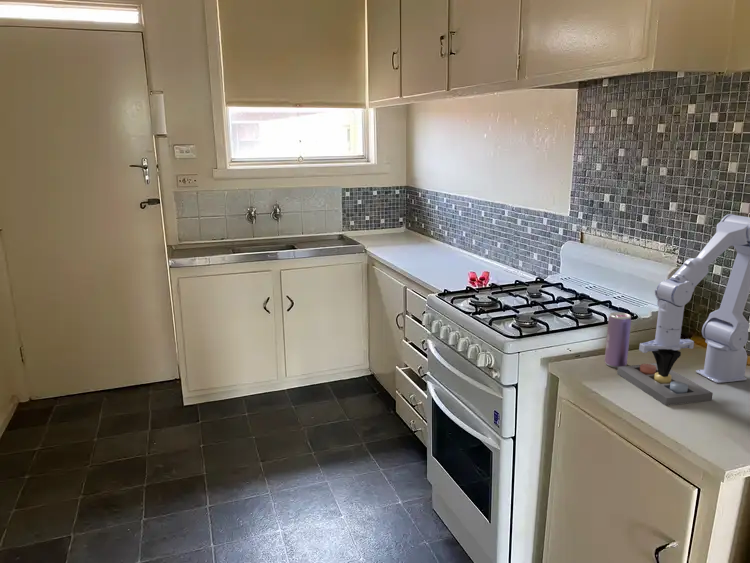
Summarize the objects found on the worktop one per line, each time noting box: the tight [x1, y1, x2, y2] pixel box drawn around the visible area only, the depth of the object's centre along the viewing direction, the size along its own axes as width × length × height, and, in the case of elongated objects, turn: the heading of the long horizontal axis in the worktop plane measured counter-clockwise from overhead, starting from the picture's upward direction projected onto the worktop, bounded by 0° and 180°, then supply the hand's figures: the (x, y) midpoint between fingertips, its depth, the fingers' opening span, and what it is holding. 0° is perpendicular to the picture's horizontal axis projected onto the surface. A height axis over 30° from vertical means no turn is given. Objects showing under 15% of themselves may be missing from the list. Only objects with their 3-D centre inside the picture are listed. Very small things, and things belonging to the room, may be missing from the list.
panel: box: [616, 362, 714, 406], centre depth 150 cm, size 13×20×2 cm, turn 11°
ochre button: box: [654, 372, 672, 384], centre depth 150 cm, size 4×4×2 cm
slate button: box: [670, 381, 688, 394], centre depth 144 cm, size 4×4×2 cm
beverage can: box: [604, 311, 632, 369], centre depth 163 cm, size 6×6×15 cm
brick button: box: [639, 363, 656, 375], centre depth 156 cm, size 4×4×2 cm
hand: (663, 375), depth 150 cm, fingers closed, pressing on ochre button
